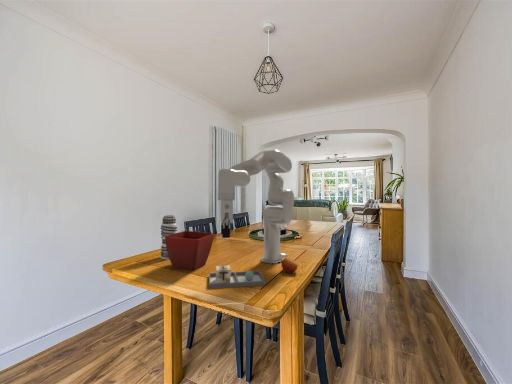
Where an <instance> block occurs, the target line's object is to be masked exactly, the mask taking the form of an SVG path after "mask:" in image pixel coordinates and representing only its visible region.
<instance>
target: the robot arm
mask: <svg viewBox="0 0 512 384" xmlns="http://www.w3.org/2000/svg"><path fill="white" fill-rule="evenodd" d="M292 164H293V162H292V159H290V158H289V157H288V156H287V155H286V154H285V153H284V152H282V151H280V150H278V149H270V150H269V149H268V150H262V151H260V152H258V153H256V154H255V155H254V156H252V157H251V158H249V159H246V160H243V161H242V162H239V163H236V164H234V165H232V166H230V167H229V168H221V169H219V170H218V175H217V178H218V179H217V201H219V202H220V203H219V205H220V206H219V212H220V213H219V215H220V222H221V225H220V234H221V235H222V236H221V237H222V239H230V237H231V224H233V223H234V205H233V204H234V203H233V201H235V200H236V187H245V186H248V185H249V183H251V182H250V181H251V177H252V176H255V175H258V174H260V172H262V171H263V170H265V173H266V174H267V177H268V181H269V185H268V191H267V202H268V203H269V204H270V205H273V206H268V207H265V208H264V209H263V211H262V220H263V256H262V257H260V261H261V262H263V263H265V264H272V263H273V264H279V263H278V262H280V263H282V262H281V261H283V259H284V258H289V256H288V254H287V253H281V229H280V226H279V225H289V224H291V223H292V220H293V214H294V205H295V194H294V191H293V190H292V189H289V188H288V189H287V188H284V184H285V183H284V178H283V177H282V175H281V174H283V173H284V174H287V173H290V171H291V170H292V169H293V168H292V167H293V165H292ZM274 205H275V206H274ZM278 206H279V207H278ZM280 206H282V207H280Z"/></svg>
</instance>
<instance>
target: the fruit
mask: <svg viewBox="0 0 512 384" xmlns="http://www.w3.org/2000/svg"><path fill="white" fill-rule="evenodd" d="M298 267H299V265H298V263H297V262H296V260H295V259H293V258H290V257H284V258H283V259H282V262H281V269H282V270H283V273H284V272H285V273H289V274H294V273H295V272H296V271H297V269H298ZM293 272H294V273H293Z"/></svg>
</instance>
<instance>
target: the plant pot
mask: <svg viewBox="0 0 512 384" xmlns="http://www.w3.org/2000/svg"><path fill="white" fill-rule="evenodd" d="M214 237H215V233H213V232H202V231H191V230H183V231H180V232H175V234H171V235H168V236H165V242H166V247H167V252H168V255H169V259H168V260H169V262H170V264H171V266H172V268H173V269H177V270H186V271H187V270H188V271H195V270H198V269H199V268H201V267H203V266H204V265H206V263H207V261H208V258H209V256H210V253H211V250H212V246H213V242H214Z"/></svg>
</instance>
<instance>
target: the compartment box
mask: <svg viewBox="0 0 512 384" xmlns="http://www.w3.org/2000/svg"><path fill="white" fill-rule="evenodd" d="M247 271H248V270H247ZM247 271H231V277H230V283H216V272H209V273H208V289H219V288H220V289H221V288H222V289H223V288H237V287H238V288H240V287H255V286H266V285H267V282H266V279H265V277H264V276H263V274H262V272H261V271H260V270H253V271H252V270H251V271H252V272H253V274H254V277H253V279H252V280H247V279H246V278H245V273H246V272H247Z"/></svg>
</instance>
